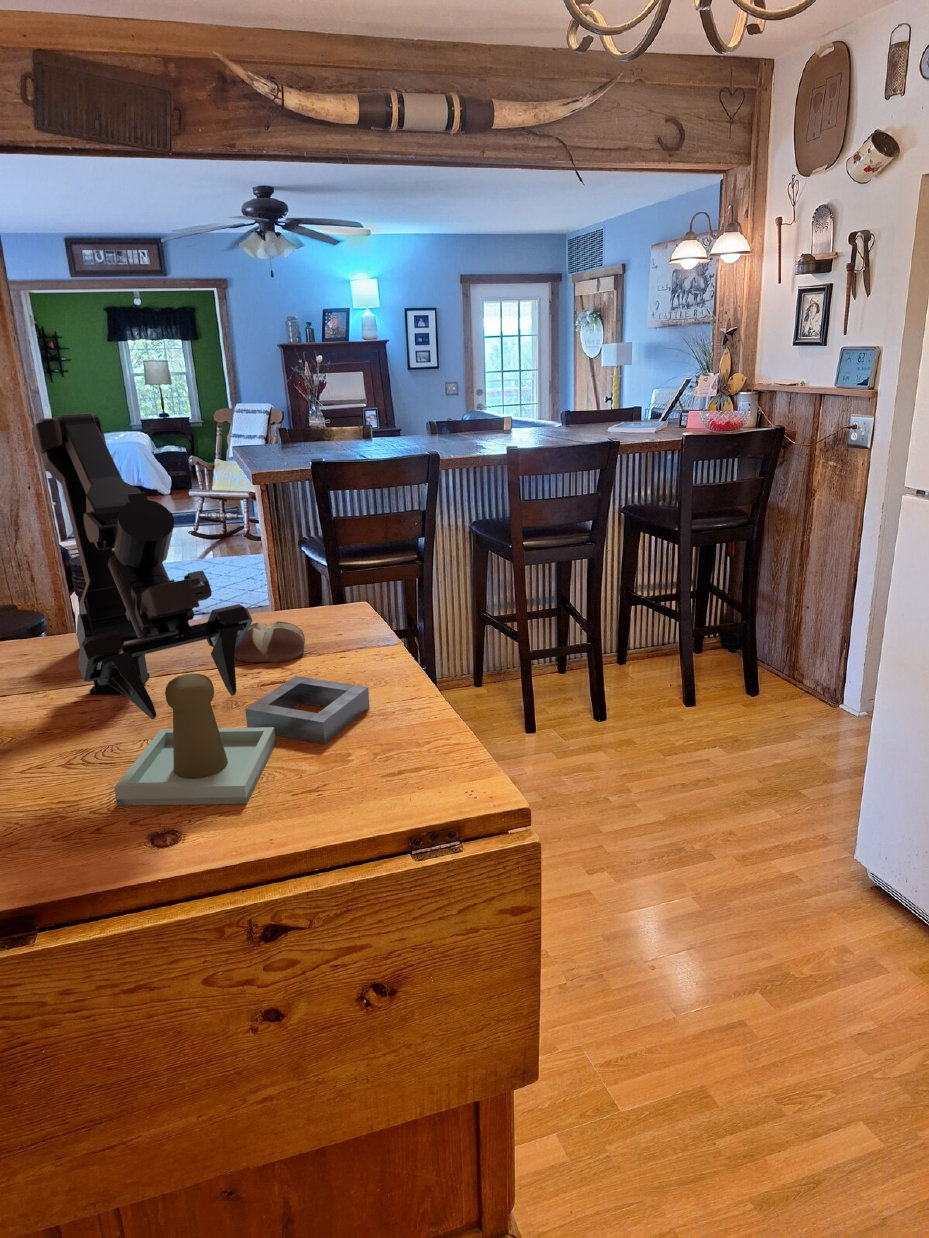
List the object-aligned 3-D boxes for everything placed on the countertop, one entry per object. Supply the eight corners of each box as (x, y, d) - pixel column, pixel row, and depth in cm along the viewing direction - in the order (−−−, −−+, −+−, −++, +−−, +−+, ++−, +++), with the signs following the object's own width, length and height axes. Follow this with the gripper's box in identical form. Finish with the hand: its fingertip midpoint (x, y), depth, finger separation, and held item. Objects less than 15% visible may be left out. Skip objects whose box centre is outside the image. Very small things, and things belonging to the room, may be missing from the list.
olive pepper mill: (197, 749, 97) (184, 664, 94) (238, 757, 95) (227, 671, 92) (161, 773, 92) (146, 684, 89) (204, 782, 90) (190, 692, 86)
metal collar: (247, 729, 104) (245, 708, 103) (297, 695, 114) (295, 675, 113) (324, 744, 100) (323, 722, 99) (369, 707, 110) (368, 686, 109)
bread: (298, 665, 126) (295, 635, 124) (226, 665, 126) (222, 635, 125) (313, 640, 136) (311, 612, 135) (246, 641, 137) (243, 613, 135)
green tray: (117, 805, 87) (114, 787, 87) (163, 745, 101) (160, 728, 100) (246, 803, 87) (244, 785, 86) (275, 743, 100) (274, 727, 100)
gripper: (67, 566, 83) (118, 697, 79) (236, 537, 95) (290, 651, 90) (59, 620, 92) (105, 742, 87) (216, 588, 103) (264, 694, 98)
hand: (195, 705), depth 90 cm, fingers open, 9 cm apart
